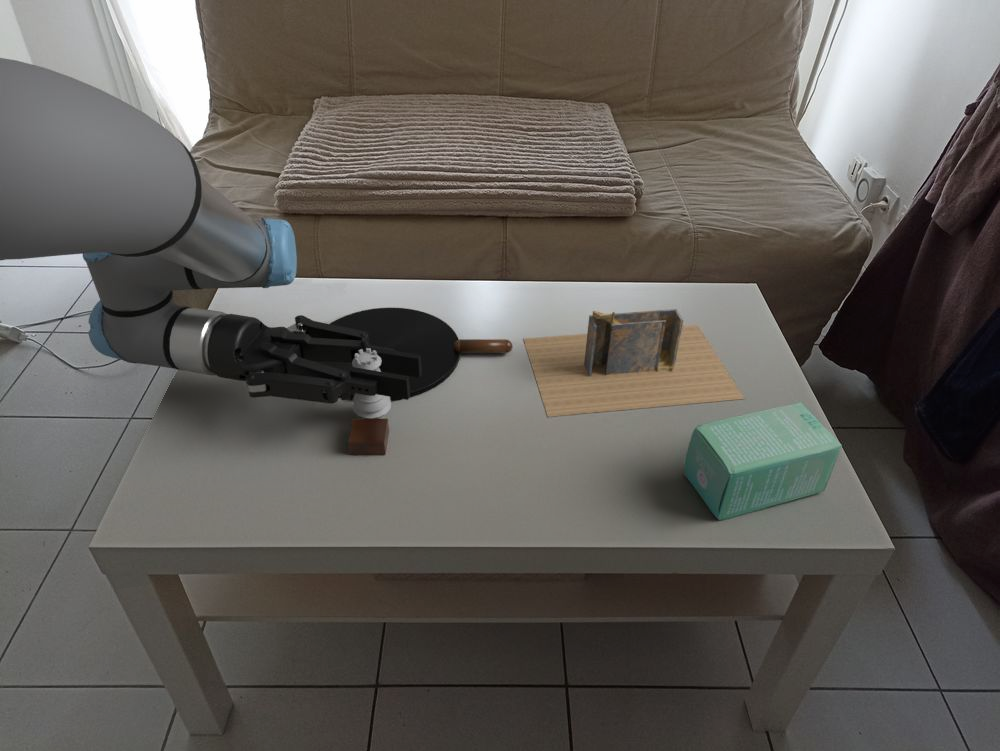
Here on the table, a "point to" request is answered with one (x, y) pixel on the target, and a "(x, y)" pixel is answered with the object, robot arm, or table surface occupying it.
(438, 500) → the table surface
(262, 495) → the table surface
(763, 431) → the box
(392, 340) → the pan
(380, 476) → the table surface
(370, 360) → the rook chess piece
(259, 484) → the table surface
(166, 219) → the robot arm
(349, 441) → the block
